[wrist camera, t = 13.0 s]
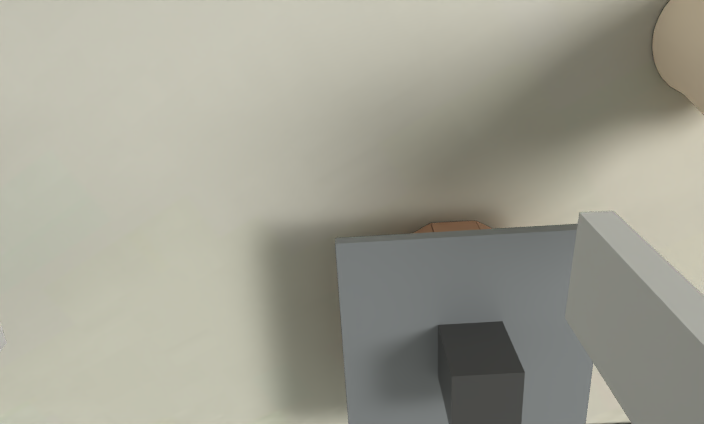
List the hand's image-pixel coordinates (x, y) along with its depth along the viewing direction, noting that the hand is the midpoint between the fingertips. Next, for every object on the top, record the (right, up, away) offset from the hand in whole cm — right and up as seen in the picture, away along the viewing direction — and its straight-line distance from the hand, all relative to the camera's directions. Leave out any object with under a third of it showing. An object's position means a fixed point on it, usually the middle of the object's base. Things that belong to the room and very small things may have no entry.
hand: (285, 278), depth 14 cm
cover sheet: (+9, -7, +26) cm, 28 cm away
